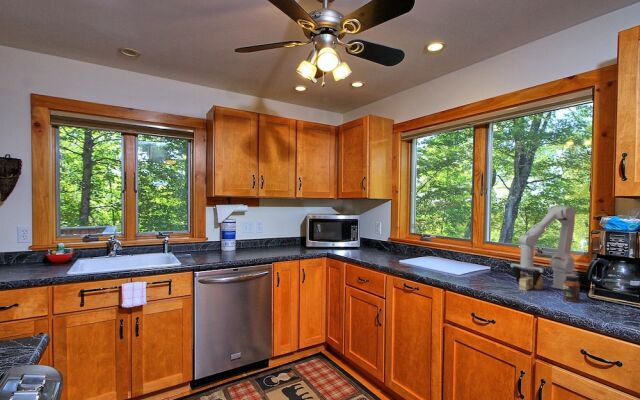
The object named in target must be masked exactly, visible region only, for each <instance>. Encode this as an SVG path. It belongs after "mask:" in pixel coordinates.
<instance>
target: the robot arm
mask: <svg viewBox="0 0 640 400" xmlns="http://www.w3.org/2000/svg"><path fill="white" fill-rule="evenodd" d="M576 213H577V212H576V210H575V209H574V208H573V207H572V206H570V205H564V206H563V205H560V206H559V205H552V206H551V207H550V208H549V209H548V210H547V213H546V214H545V216H544V217H543V218H542V219H541V220H540V222H539V223H538V224H533V225H532V226H531V228H530V229H529V230H527V231H526V232H525V234H521V235H520V236H519V238H518V239H517V242H518V244H519V248H520V263H513V262H512V263H510V268H511V269H512V272H513V274H514V276H515V278H516V283H519V279H521V271H522V270H525V271H526V270H527V271H532V276H533V285H536V284H537V280H538V278H539V276H540V277H541V275H542V273H544V271H545V270H544V268H542V267H538V266H535V265H534V257H535V256H534V255H535V254H534V253H535V246H536V245H537V244H538V240H539V238H540V237H542V235H544V233H545V230H546V228H547V227H548V226H549V225H551V224H552V223H553V222H554V221H555V220H556V221H557V222H559V223H560V231H559V237H558V242H557V243H558V244H557V250H556V253H553V254H552V255H551V259H550V261H549V266H550V267H551V270H552V271H553V275H552V277H553V279H552V280H553V281H552V285H550V288H553V289H558V290H563V287H564V280H566V276H575V277H577V274H576V273H574V271H575V269H576V265H575V258H574V257H573V256H572V255H571V249H572V243H573V236H574V230H575V226H576V222H575V221H576Z"/></svg>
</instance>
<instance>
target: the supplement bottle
mask: <svg viewBox="0 0 640 400" xmlns="http://www.w3.org/2000/svg"><path fill="white" fill-rule="evenodd" d="M580 288H581V287H580V282H579V281H578V277H577V276H576V277H575V276H566V280H564V287H563V292H562V293H563V295H562V296H563V300H564V301H567V302H570V303H571V302H572V303H579V302H580V299H581V297H580V293H581V289H580Z"/></svg>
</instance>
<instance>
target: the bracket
mask: <svg viewBox="0 0 640 400" xmlns="http://www.w3.org/2000/svg"><path fill="white" fill-rule="evenodd" d="M524 277H533V275H529V274H527V273H525V272H524V273H522V274H520V279H521V278H524ZM543 282H544V278H543V277H541V275H540V276H539V278H538V280H537V284H536V285H533V289H535V290H541V289H543V288H544V286H543V284H544V283H543Z"/></svg>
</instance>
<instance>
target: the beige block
mask: <svg viewBox="0 0 640 400" xmlns="http://www.w3.org/2000/svg"><path fill="white" fill-rule="evenodd" d="M518 287H519V288H518V289H519V290H520V291H525V292H527V291H529V290H531V289H534V287H533V277H524V278H521V277H520V279H519V282H518Z"/></svg>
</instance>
